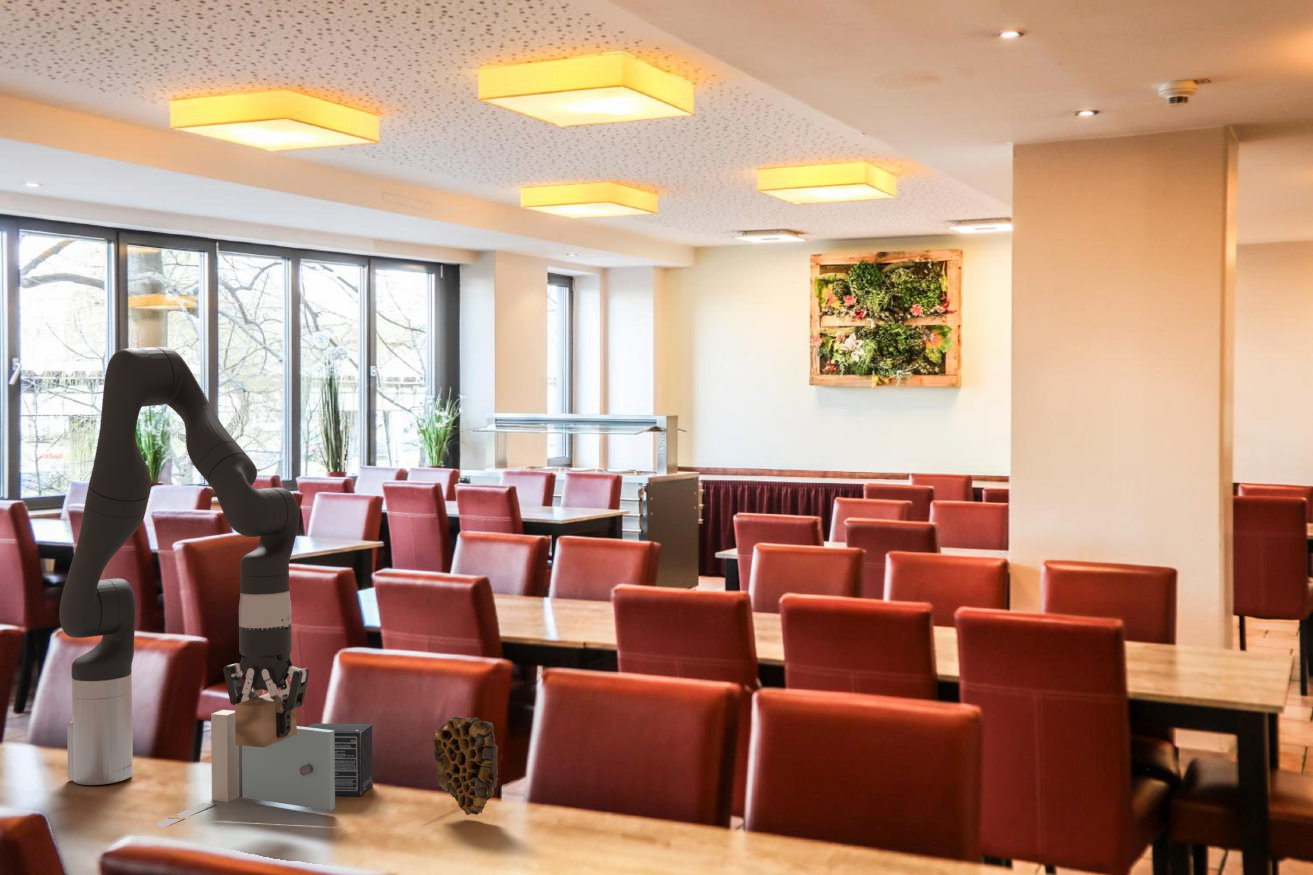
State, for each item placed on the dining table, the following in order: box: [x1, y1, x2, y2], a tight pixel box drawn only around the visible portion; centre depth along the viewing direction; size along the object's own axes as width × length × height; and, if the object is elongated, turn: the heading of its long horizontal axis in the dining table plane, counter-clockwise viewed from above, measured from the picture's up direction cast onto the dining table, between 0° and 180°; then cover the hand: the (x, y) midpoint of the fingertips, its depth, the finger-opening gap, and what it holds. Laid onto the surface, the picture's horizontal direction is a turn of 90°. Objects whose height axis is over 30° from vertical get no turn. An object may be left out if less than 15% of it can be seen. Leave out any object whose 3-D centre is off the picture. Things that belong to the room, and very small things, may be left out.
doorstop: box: [234, 692, 298, 748], centre depth 190 cm, size 5×8×6 cm, turn 161°
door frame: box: [154, 709, 240, 828], centre depth 197 cm, size 3×32×14 cm, turn 162°
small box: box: [307, 722, 374, 797], centre depth 208 cm, size 11×6×10 cm, turn 84°
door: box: [239, 725, 336, 811], centre depth 198 cm, size 3×18×12 cm, turn 66°
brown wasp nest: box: [433, 716, 499, 816], centre depth 195 cm, size 11×4×15 cm, turn 74°
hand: (266, 734), depth 190 cm, fingers closed on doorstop, 5 cm apart
